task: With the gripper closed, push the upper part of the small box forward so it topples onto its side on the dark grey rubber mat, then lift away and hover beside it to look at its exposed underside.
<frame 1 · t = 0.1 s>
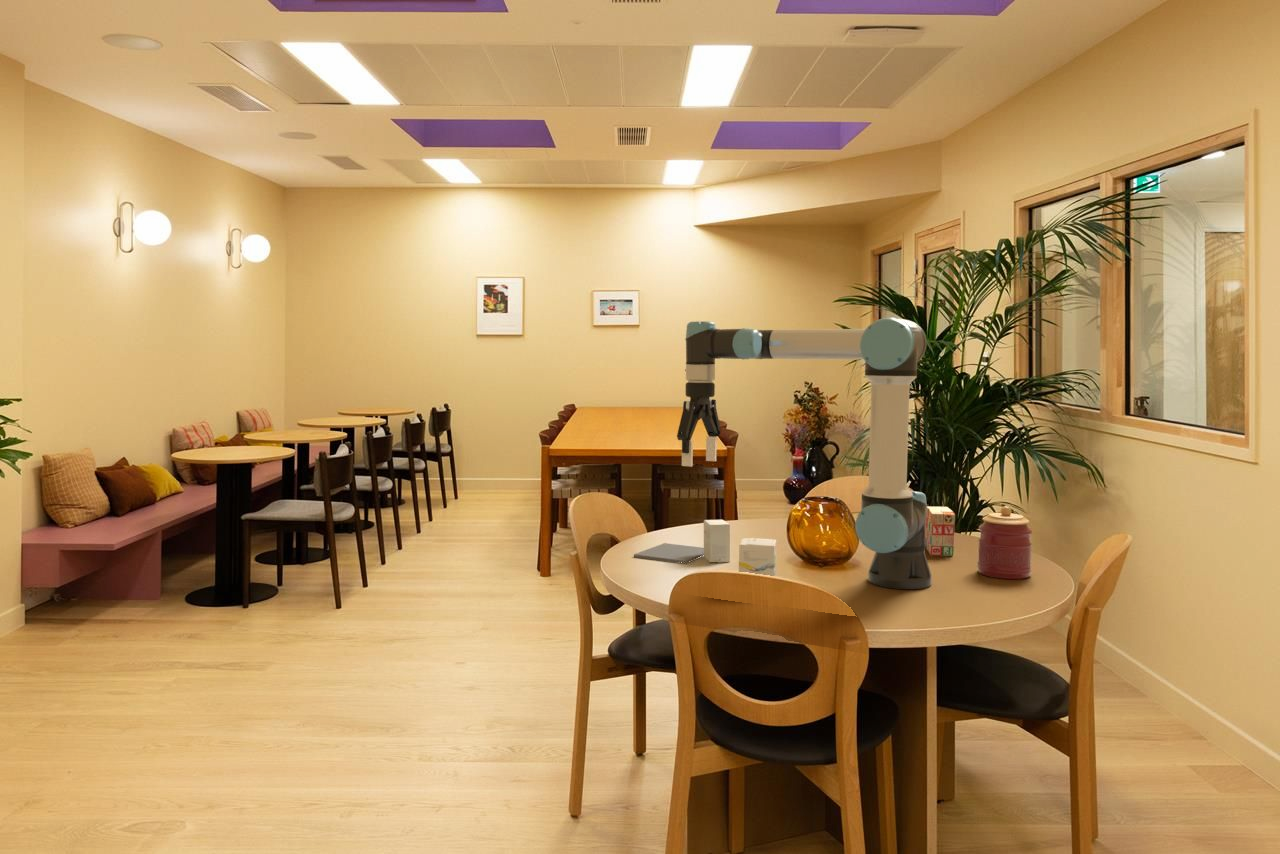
hand: (699, 463, 243), 28 cm above the table, tool pointing down, fingers open, 13 cm apart
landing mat: (674, 554, 263), on the table
small box: (716, 560, 257), on the table
ink box: (757, 589, 225), on the table
stack of blocks: (936, 549, 274), on the table
canister: (1003, 574, 242), on the table
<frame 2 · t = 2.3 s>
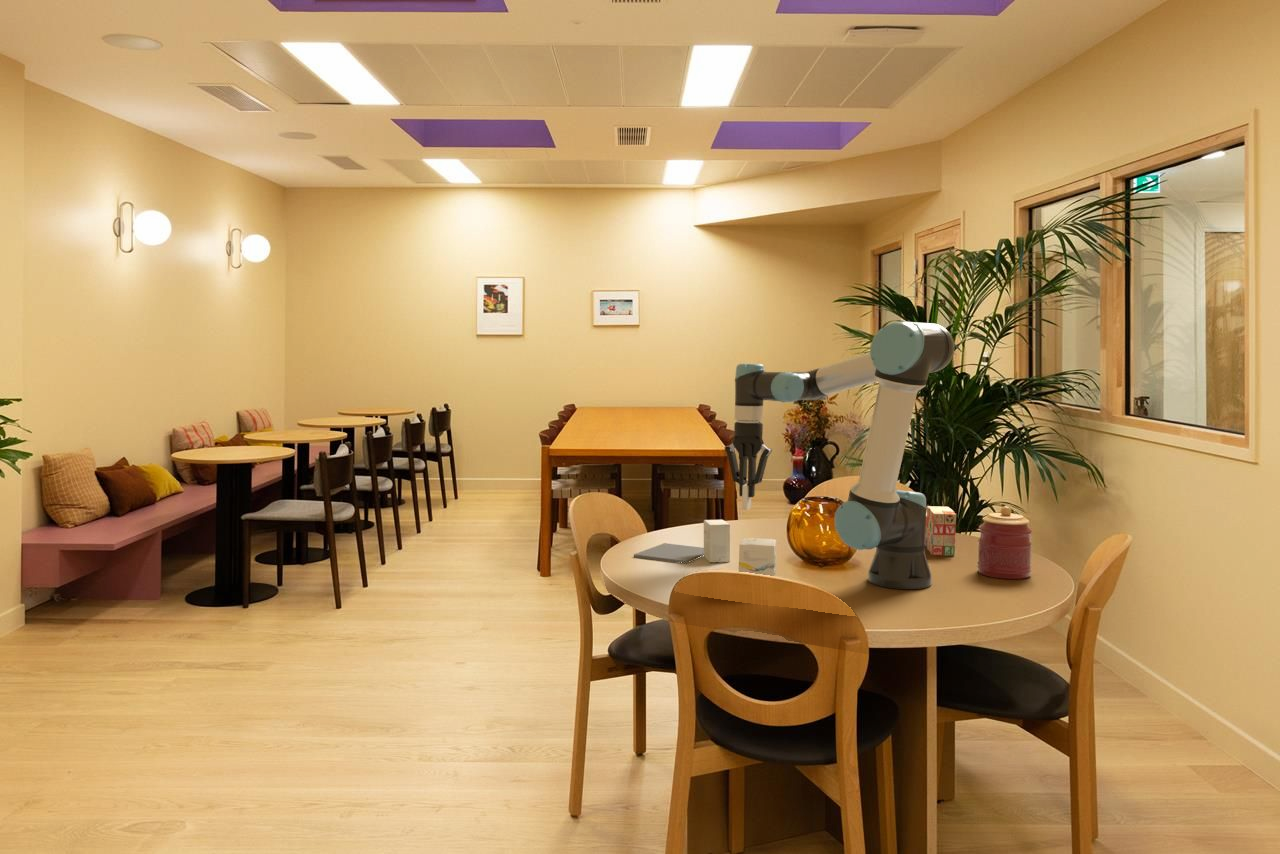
hand: (746, 508, 251), 15 cm above the table, tool pointing down, fingers closed
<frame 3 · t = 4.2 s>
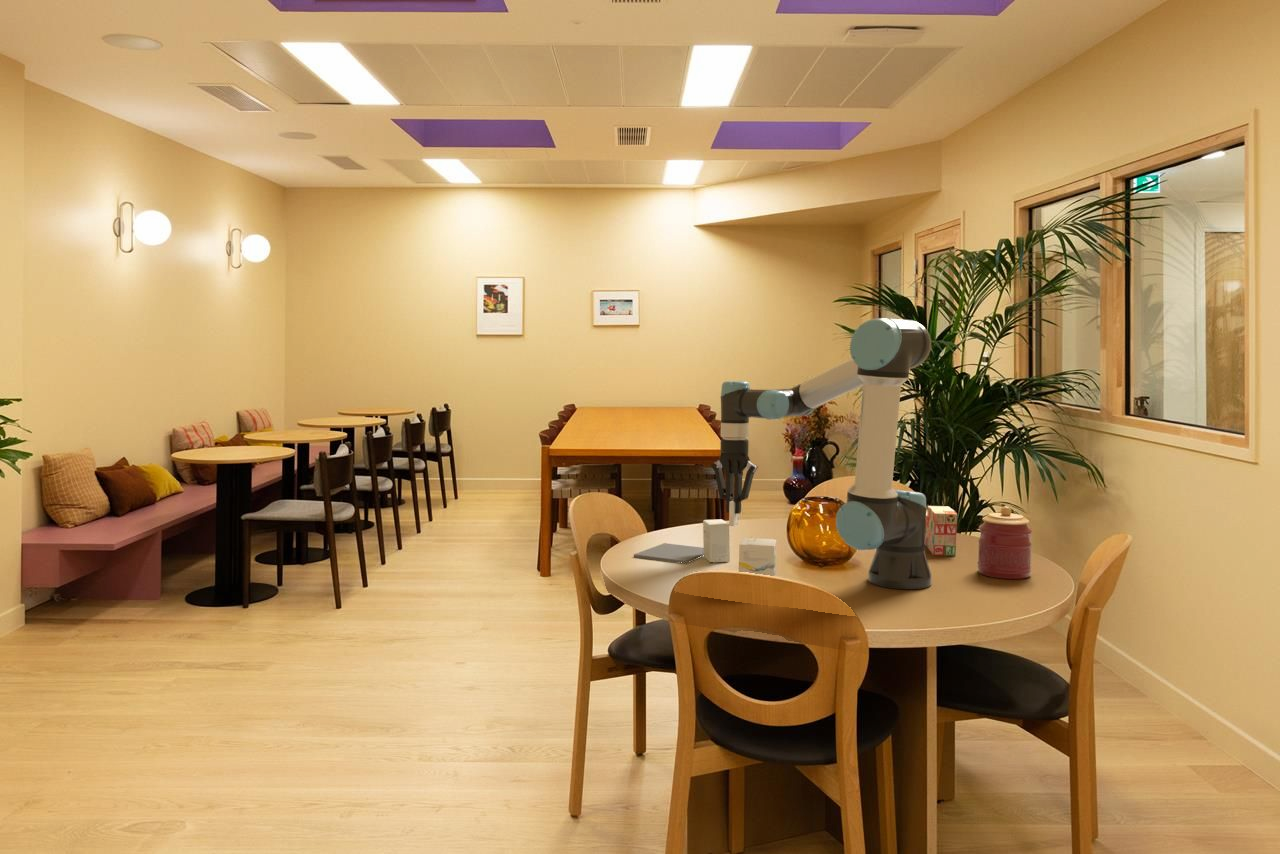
hand: (733, 524, 254), 10 cm above the table, tool pointing down, fingers closed
small box: (716, 560, 257), on the table, touching gripper
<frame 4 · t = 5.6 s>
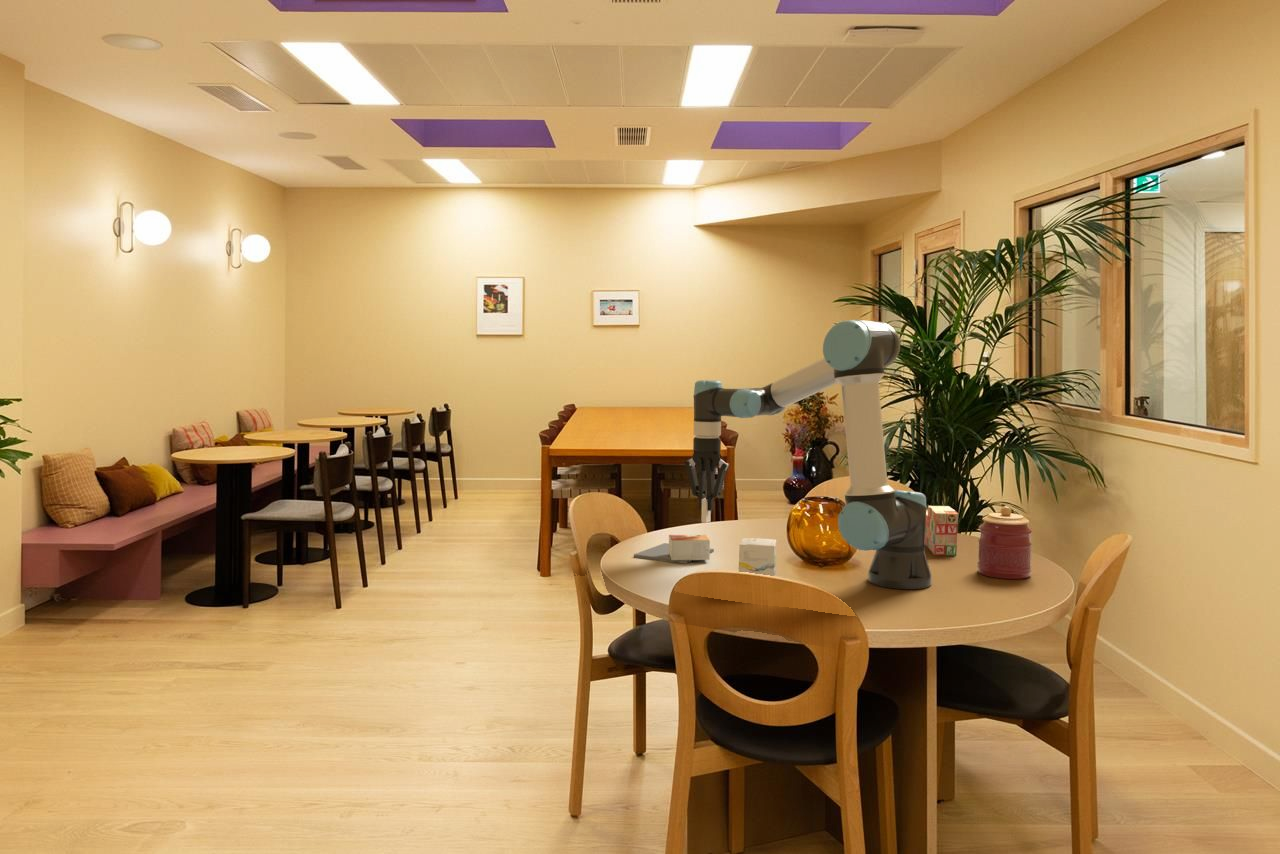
hand: (705, 521, 258), 10 cm above the table, tool pointing down, fingers closed
small box: (708, 547, 256), point 4 cm above the table, touching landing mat
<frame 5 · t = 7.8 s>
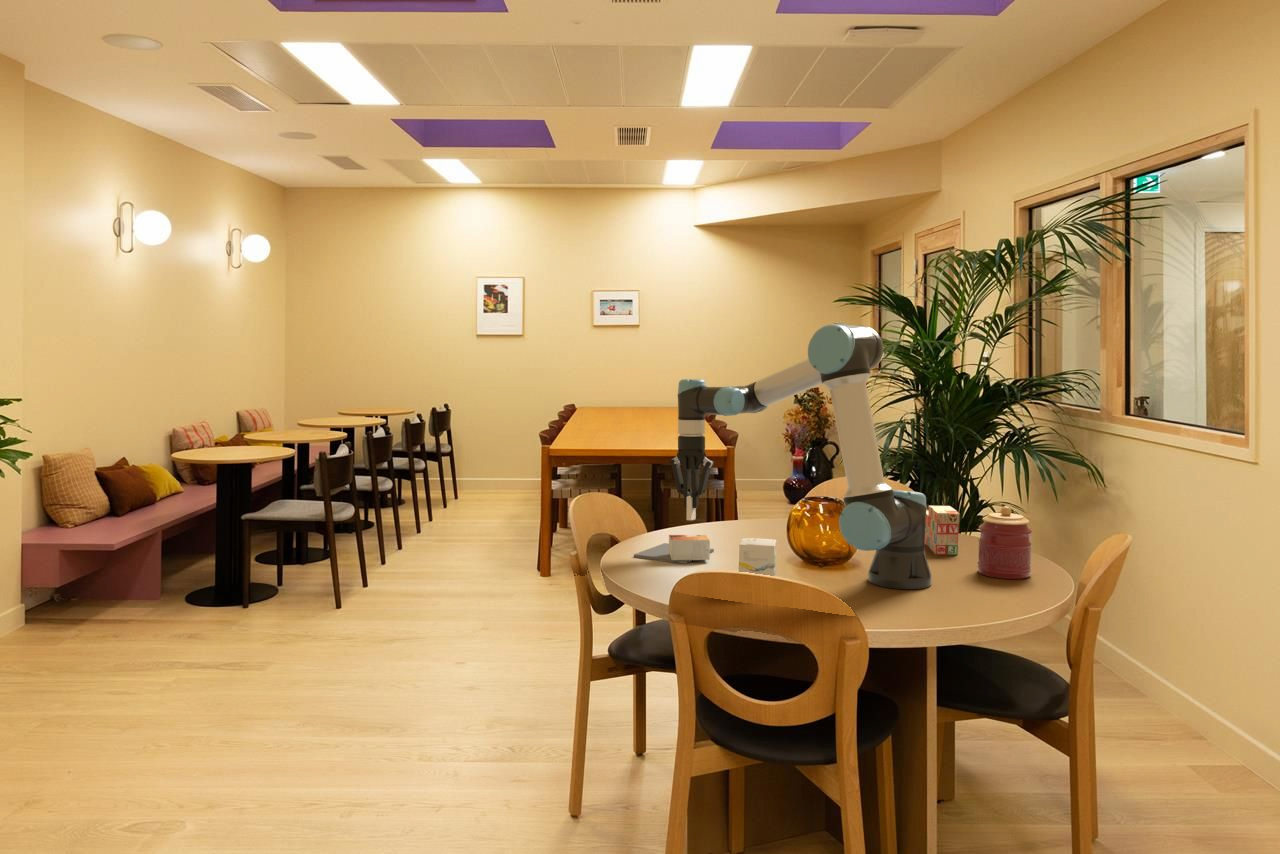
hand: (691, 519, 260), 10 cm above the table, tool pointing down, fingers closed
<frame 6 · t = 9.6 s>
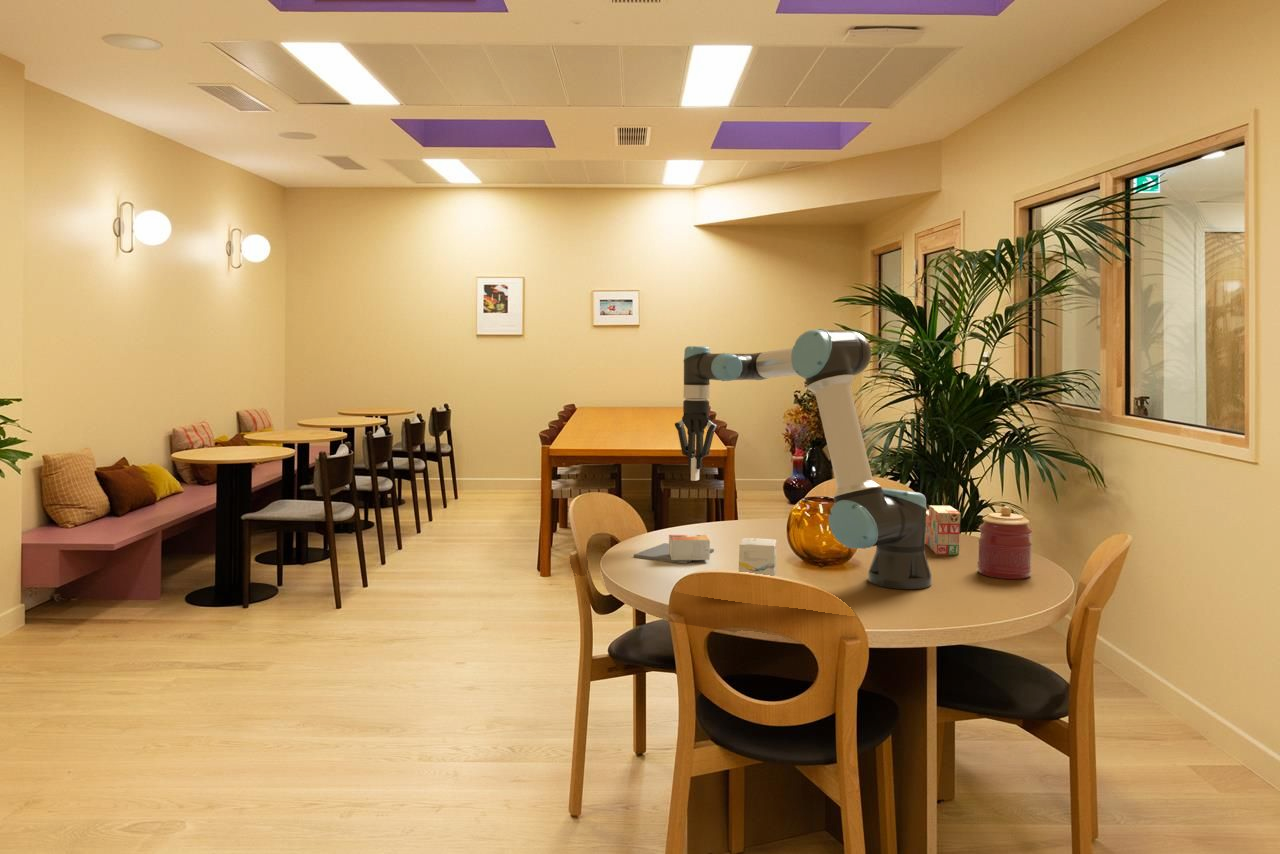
hand: (695, 480, 273), 20 cm above the table, tool pointing down, fingers closed
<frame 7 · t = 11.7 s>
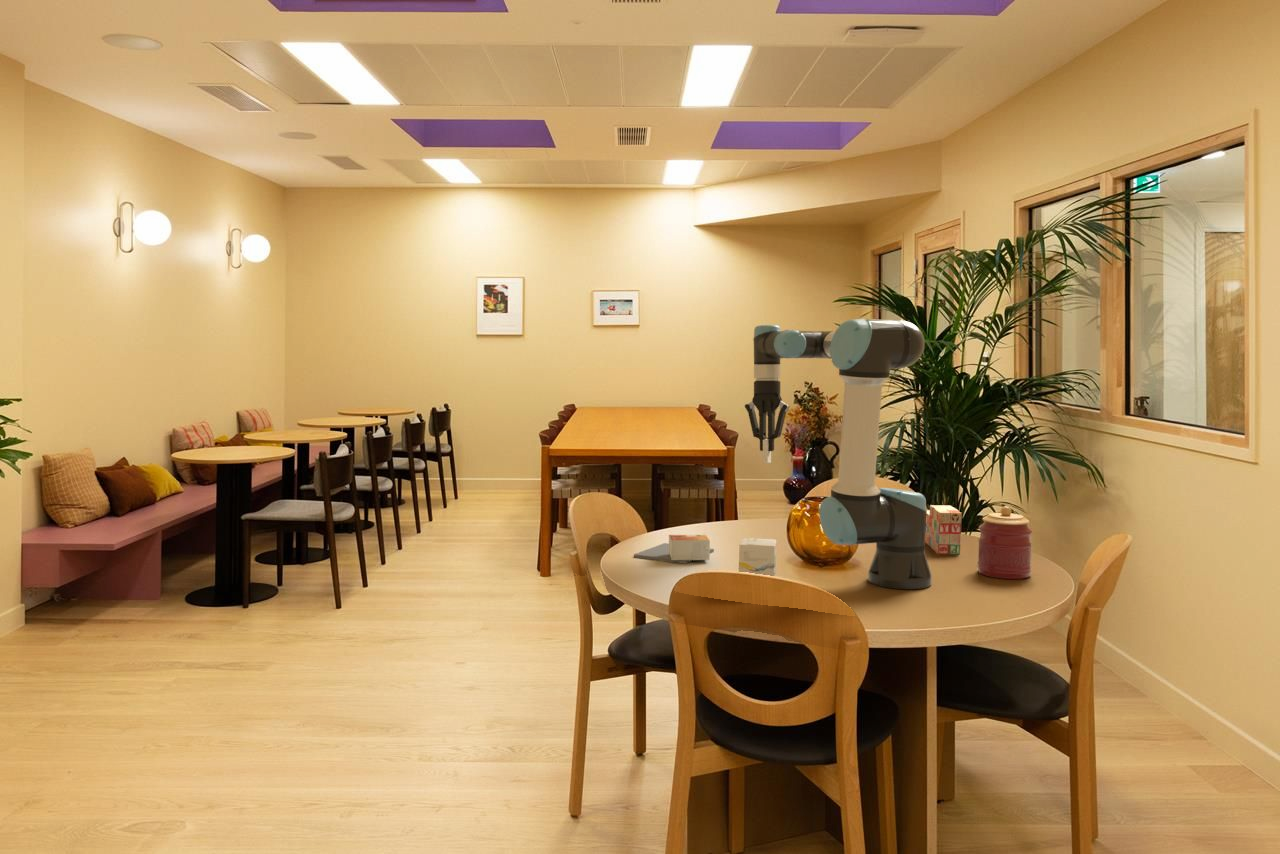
hand: (766, 462, 267), 25 cm above the table, tool pointing down, fingers closed
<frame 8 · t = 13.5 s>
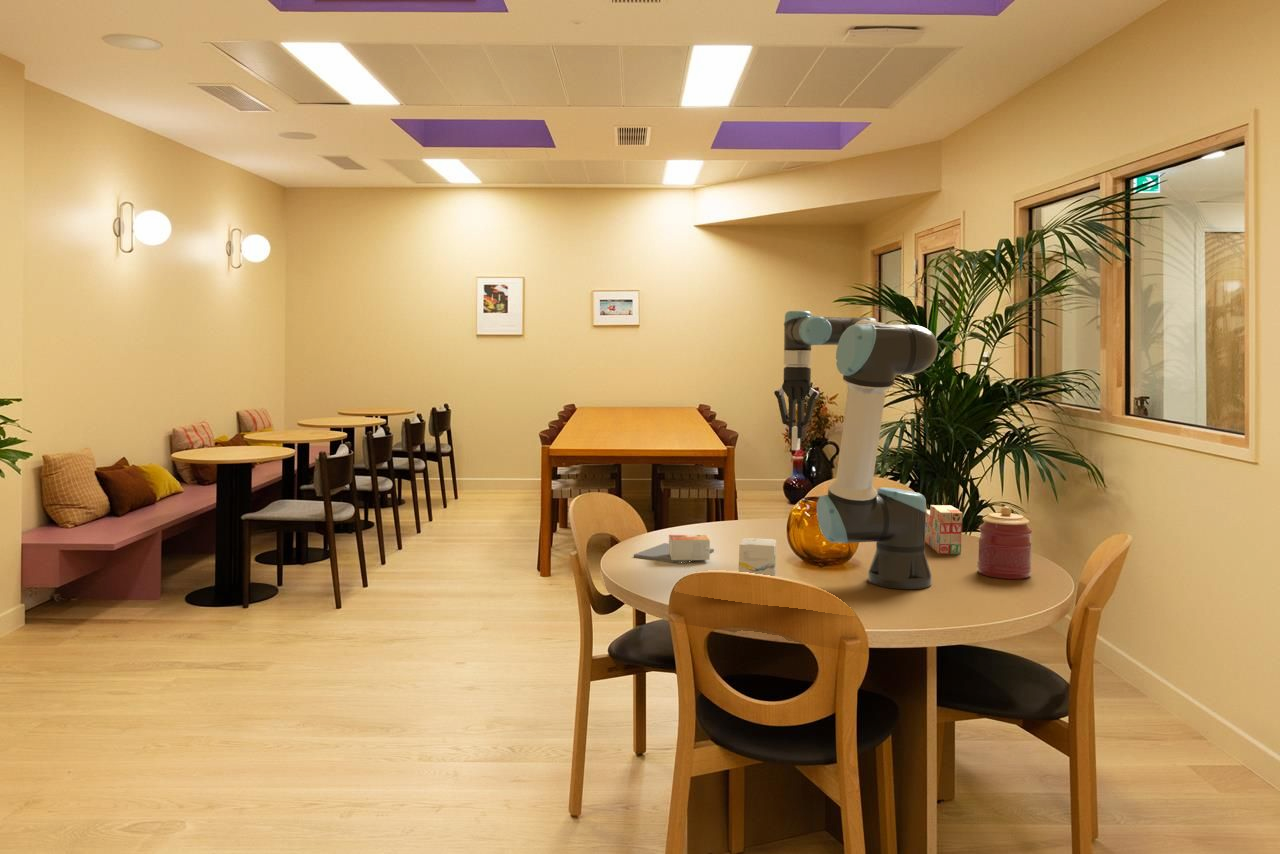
hand: (795, 449, 264), 29 cm above the table, tool pointing down, fingers closed
at the end: small box tilted 90°; small box touching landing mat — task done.
